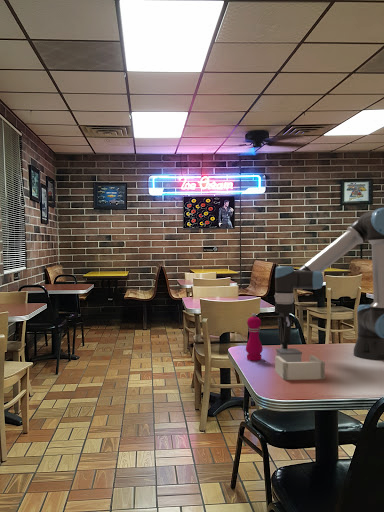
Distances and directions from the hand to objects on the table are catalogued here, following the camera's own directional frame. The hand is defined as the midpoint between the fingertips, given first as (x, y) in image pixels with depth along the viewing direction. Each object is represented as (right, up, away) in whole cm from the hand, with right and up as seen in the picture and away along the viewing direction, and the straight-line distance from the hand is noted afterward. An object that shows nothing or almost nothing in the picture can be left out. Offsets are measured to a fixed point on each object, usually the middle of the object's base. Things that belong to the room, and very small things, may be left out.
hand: (284, 359), depth 176 cm
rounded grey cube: (+1, -2, -6) cm, 6 cm away
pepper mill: (-11, -2, +7) cm, 14 cm away
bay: (+2, -1, -18) cm, 18 cm away
